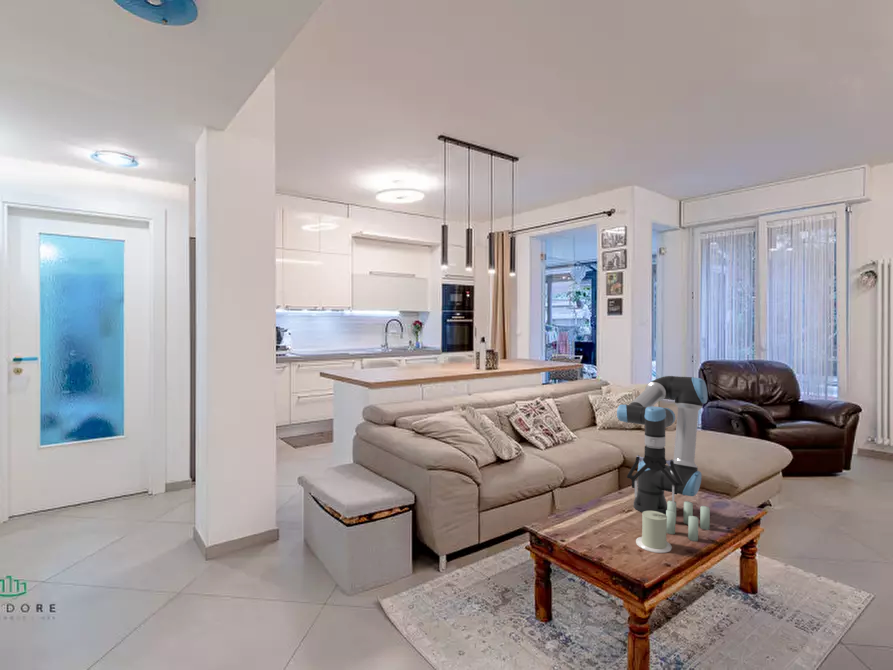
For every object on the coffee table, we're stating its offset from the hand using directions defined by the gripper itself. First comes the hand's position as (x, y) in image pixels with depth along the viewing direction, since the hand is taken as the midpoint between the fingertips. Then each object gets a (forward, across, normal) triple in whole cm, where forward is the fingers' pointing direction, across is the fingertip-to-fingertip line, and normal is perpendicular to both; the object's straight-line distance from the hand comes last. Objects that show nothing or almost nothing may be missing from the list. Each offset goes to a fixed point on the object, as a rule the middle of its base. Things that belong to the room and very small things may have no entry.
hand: (654, 499), depth 186 cm
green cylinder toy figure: (+18, 0, 0) cm, 18 cm away
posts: (+19, +12, +22) cm, 31 cm away
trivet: (+18, 0, 0) cm, 18 cm away
